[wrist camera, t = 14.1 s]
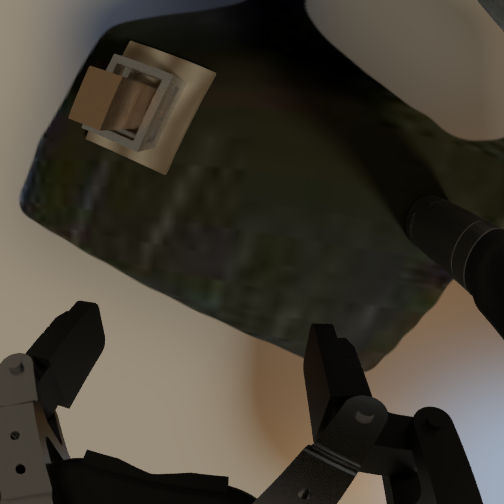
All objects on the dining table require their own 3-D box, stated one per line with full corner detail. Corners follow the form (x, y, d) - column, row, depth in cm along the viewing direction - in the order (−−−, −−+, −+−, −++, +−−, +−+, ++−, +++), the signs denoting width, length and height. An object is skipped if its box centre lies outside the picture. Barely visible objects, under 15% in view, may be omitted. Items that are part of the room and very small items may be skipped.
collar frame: (187, 84, 38) (173, 74, 31) (156, 147, 41) (137, 152, 34) (136, 64, 37) (114, 53, 29) (107, 126, 40) (81, 127, 32)
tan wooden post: (166, 92, 39) (122, 76, 24) (149, 129, 40) (98, 132, 26) (141, 83, 38) (89, 65, 23) (125, 119, 40) (67, 119, 25)
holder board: (216, 73, 39) (215, 72, 38) (166, 173, 44) (164, 174, 43) (132, 42, 36) (130, 40, 35) (88, 138, 41) (85, 138, 40)
